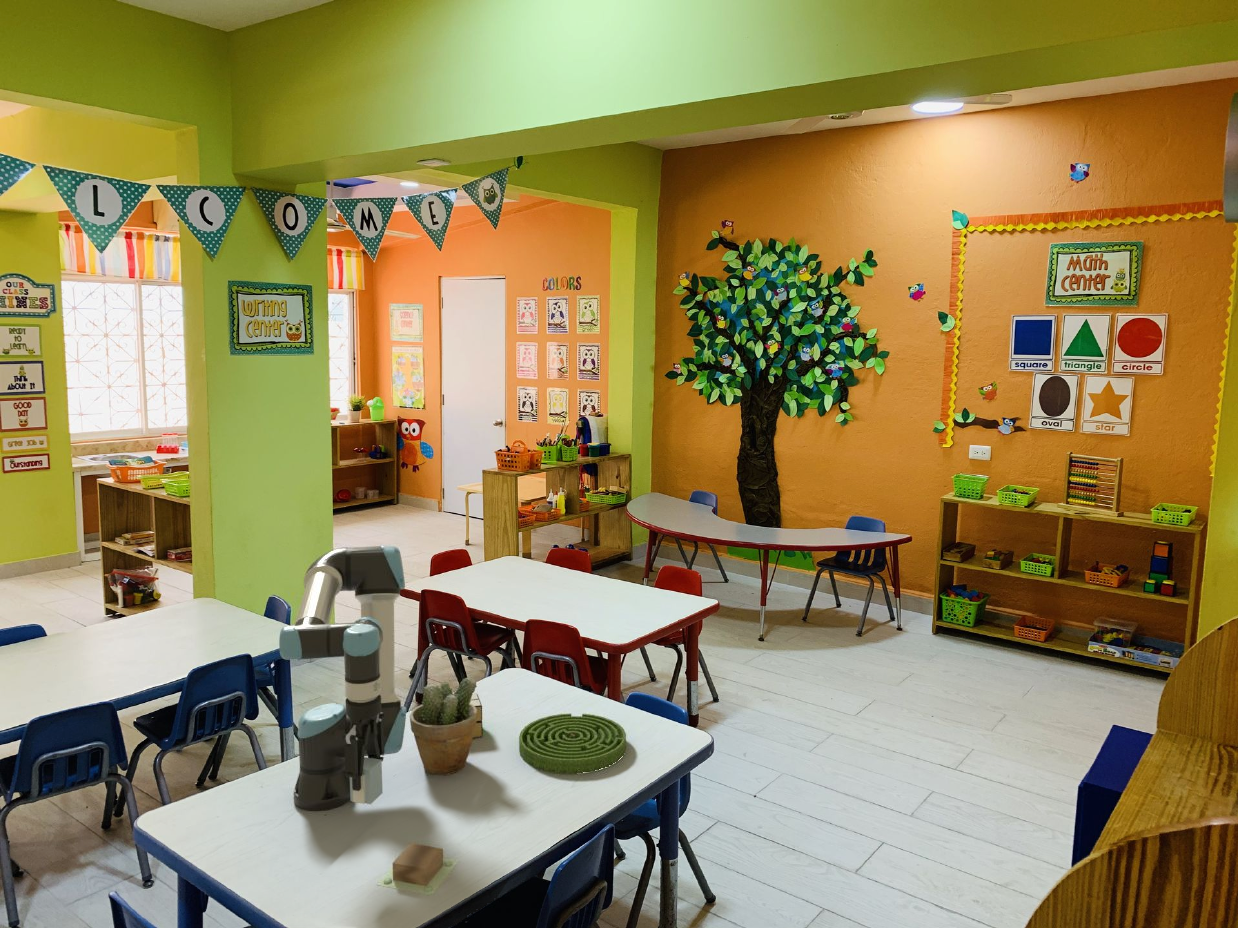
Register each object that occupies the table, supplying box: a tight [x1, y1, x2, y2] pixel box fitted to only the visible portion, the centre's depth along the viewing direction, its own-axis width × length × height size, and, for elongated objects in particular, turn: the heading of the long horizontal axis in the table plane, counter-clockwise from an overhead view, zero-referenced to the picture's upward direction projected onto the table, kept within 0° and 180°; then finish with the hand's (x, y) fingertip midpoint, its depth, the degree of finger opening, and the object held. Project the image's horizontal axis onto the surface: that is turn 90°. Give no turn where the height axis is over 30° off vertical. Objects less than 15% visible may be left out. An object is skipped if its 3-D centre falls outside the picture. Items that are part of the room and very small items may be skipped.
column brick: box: [350, 756, 383, 805], centre depth 199 cm, size 5×5×8 cm
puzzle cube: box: [470, 692, 483, 739], centre depth 269 cm, size 10×10×10 cm
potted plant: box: [409, 677, 477, 776], centre depth 247 cm, size 18×19×25 cm
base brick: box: [392, 842, 444, 886], centre depth 197 cm, size 8×8×4 cm
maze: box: [518, 713, 627, 775], centre depth 259 cm, size 31×31×5 cm
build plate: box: [376, 857, 459, 896], centre depth 197 cm, size 13×13×1 cm
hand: (366, 795), depth 199 cm, fingers closed on column brick, 5 cm apart
